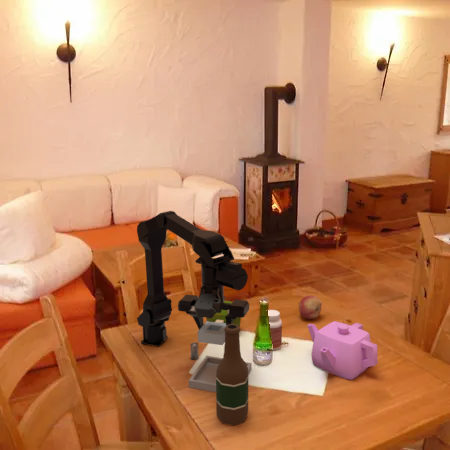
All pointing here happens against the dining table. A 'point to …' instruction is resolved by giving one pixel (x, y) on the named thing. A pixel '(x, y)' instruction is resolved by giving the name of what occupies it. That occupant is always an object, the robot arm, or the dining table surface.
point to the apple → (223, 316)
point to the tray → (208, 374)
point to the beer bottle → (232, 381)
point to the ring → (212, 332)
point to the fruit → (310, 307)
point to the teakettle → (342, 349)
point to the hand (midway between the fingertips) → (214, 334)
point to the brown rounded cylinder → (194, 350)
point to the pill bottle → (275, 328)
